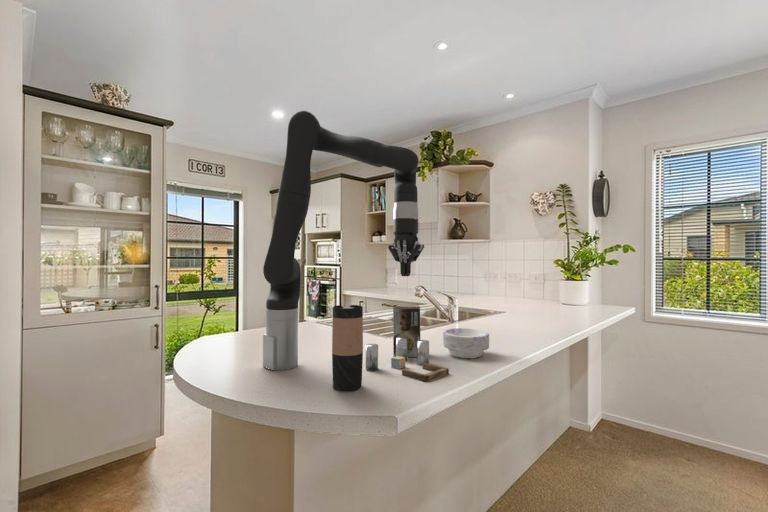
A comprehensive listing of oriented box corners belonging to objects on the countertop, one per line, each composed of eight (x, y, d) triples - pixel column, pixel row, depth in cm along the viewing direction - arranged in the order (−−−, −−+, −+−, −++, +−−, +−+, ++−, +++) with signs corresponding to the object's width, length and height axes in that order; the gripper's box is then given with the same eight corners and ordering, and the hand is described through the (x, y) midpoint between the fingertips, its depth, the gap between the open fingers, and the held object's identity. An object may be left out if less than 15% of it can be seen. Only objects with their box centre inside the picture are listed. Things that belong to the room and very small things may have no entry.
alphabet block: (390, 367, 111) (391, 357, 111) (397, 365, 113) (397, 355, 114) (399, 369, 109) (399, 359, 109) (405, 367, 112) (405, 357, 112)
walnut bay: (426, 382, 98) (426, 376, 98) (402, 375, 104) (402, 369, 104) (448, 374, 105) (448, 368, 105) (424, 368, 111) (424, 362, 111)
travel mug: (350, 394, 88) (350, 309, 89) (325, 388, 92) (325, 307, 93) (368, 385, 95) (369, 306, 95) (344, 380, 99) (345, 304, 99)
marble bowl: (486, 363, 116) (486, 337, 117) (438, 358, 122) (438, 334, 122) (491, 352, 131) (491, 329, 131) (447, 348, 136) (447, 326, 136)
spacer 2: (402, 361, 117) (402, 339, 117) (393, 359, 120) (393, 337, 120) (409, 359, 120) (409, 337, 120) (401, 357, 122) (401, 336, 122)
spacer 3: (424, 366, 112) (424, 342, 112) (414, 364, 115) (414, 341, 115) (431, 364, 115) (431, 341, 115) (422, 361, 117) (422, 339, 118)
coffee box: (420, 353, 129) (420, 306, 129) (420, 357, 122) (420, 308, 123) (394, 352, 130) (394, 305, 130) (392, 357, 123) (392, 307, 124)
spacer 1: (371, 371, 107) (371, 347, 107) (363, 369, 109) (363, 345, 109) (380, 369, 109) (380, 345, 109) (372, 366, 112) (372, 343, 112)
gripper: (381, 219, 115) (381, 275, 114) (414, 215, 105) (414, 277, 105) (397, 221, 120) (397, 275, 120) (431, 217, 111) (430, 276, 110)
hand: (405, 276), depth 112 cm, fingers closed
